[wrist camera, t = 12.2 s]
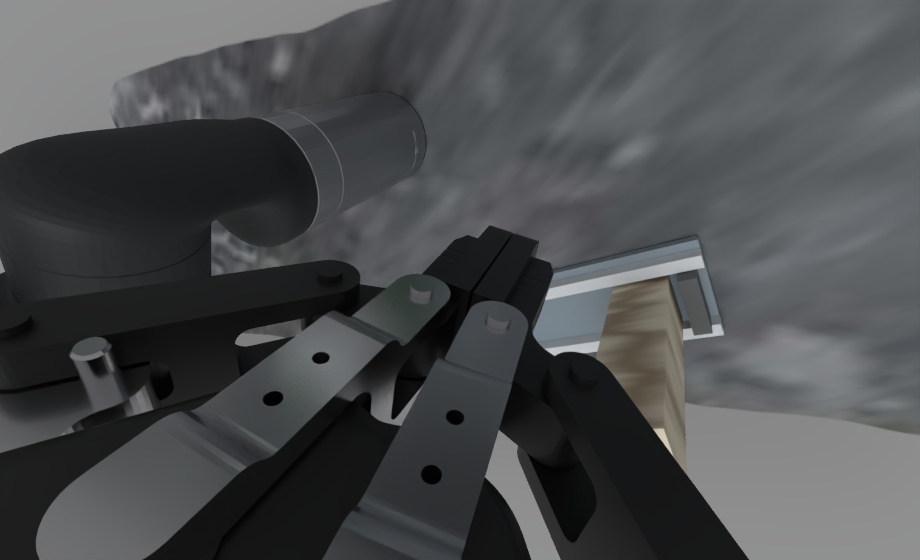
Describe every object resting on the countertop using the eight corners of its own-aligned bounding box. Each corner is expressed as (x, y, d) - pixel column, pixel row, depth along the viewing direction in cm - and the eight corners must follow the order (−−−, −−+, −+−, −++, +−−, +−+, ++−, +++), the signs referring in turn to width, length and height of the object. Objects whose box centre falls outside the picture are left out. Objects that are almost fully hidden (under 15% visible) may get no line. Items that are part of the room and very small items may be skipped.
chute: (526, 355, 53) (516, 376, 50) (494, 284, 50) (482, 301, 47) (723, 328, 42) (727, 352, 39) (697, 235, 39) (699, 252, 36)
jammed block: (629, 326, 45) (603, 490, 29) (614, 284, 43) (577, 431, 27) (682, 318, 42) (686, 493, 26) (668, 272, 41) (663, 428, 25)
